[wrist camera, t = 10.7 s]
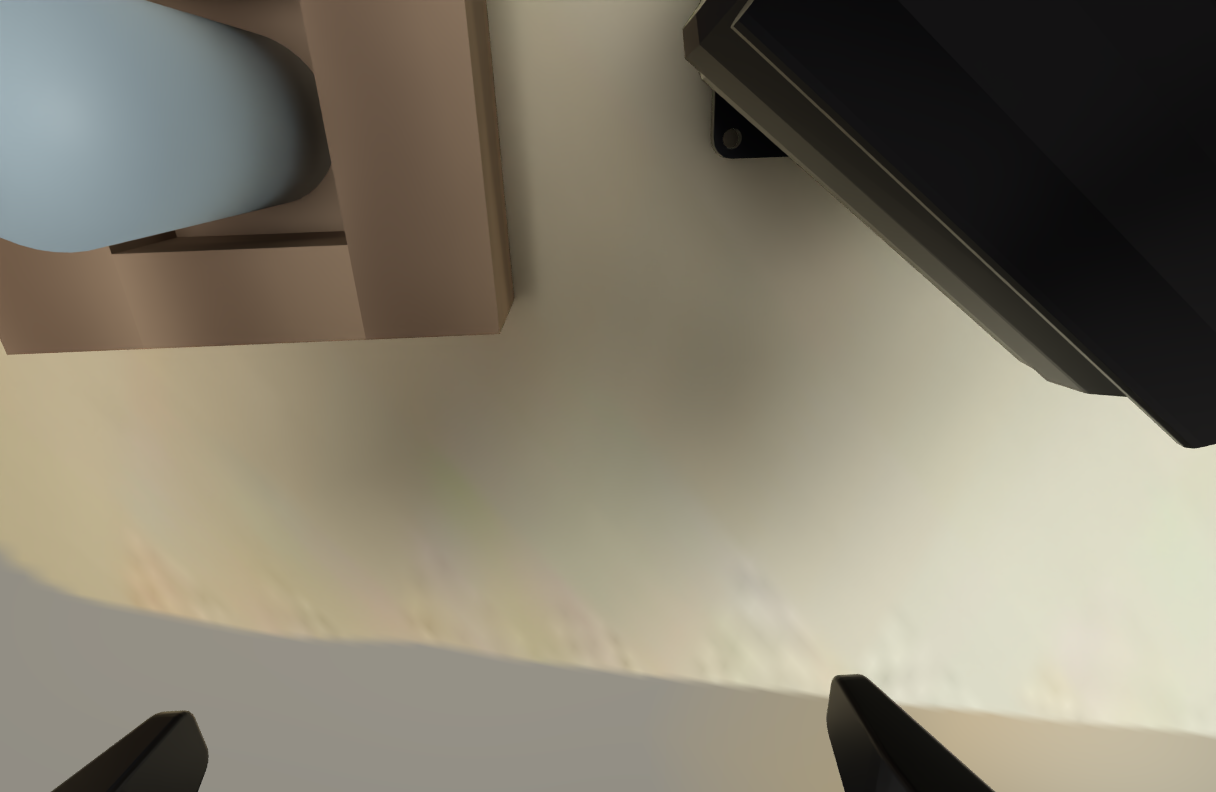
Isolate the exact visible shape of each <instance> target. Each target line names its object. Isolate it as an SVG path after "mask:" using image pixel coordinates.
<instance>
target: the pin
mask: <svg viewBox="0 0 1216 792" xmlns="http://www.w3.org/2000/svg"><path fill="white" fill-rule="evenodd" d="M330 166H331V158H330V153H329V148H328V143H327V138H326V133H325V128H324V123H323V118H322V112H321V107H320V102H319V97H318V92H317V87H316V82H315V77H314V73H313V72H312V71H311V70H310V69H309V67H308V66H307V65H306V64H305V63H304V62H303V61H302V60H301V59H300V58H299V57H298V56H297V55H295V54H294V53H293V52H292V51H290V50H289V49H288V48H286V47H285V46H283V45H281V44H280V43H278V42H276V41H274V40H272V39H270V38H268V37H265V36H262V35H259V34H256V33H253V32H250V31H246V30H243V29H240V28H236V27H233V26H230V25H226V24H223V23H220V22H216V21H213V20H210V19H206V18H203V17H200V16H196V15H193V14H190V13H186V12H183V11H180V10H176V9H173V8H170V7H166V6H163V5H160V4H156V3H153V2H150V1H146V0H0V238H3V239H5V240H8V241H11V242H13V243H16V244H19V245H22V246H26V247H30V248H33V249H37V250H44V251H50V252H68V253H73V252H82V251H90V250H94V249H98V248H102V247H106V246H110V245H115V244H119V243H123V242H127V241H131V240H135V239H140V238H144V237H148V236H152V235H156V234H160V233H165V232H169V231H173V230H177V229H181V228H185V227H190V226H194V225H198V224H202V223H206V222H210V221H215V220H219V219H223V218H227V217H231V216H235V215H240V214H244V213H248V212H252V211H256V210H260V209H265V208H269V207H273V206H277V205H281V204H285V203H289V202H293V201H295V200H298V199H300V198H302V197H304V196H305V195H307V194H309V193H310V192H311V191H312V190H314V189H315V188H316V187H317V186H318V185H319V184H320V182H321V181H322V180H323V179H324V177H325V175H326V174H327V172H328V170H329V168H330Z"/></svg>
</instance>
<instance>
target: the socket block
mask: <svg viewBox="0 0 1216 792" xmlns="http://www.w3.org/2000/svg"><path fill="white" fill-rule="evenodd" d="M146 1H150V2H153V3H156V4H160V5H163V6H166V7H170V8H173V9H176V10H180V11H183V12H186V13H190V14H193V15H196V16H200V17H203V18H206V19H210V20H213V21H216V22H220V23H223V24H226V25H230V26H233V27H236V28H240V29H243V30H246V31H250V32H253V33H256V34H259V35H262V36H265V37H268V38H270V39H272V40H274V41H276V42H278V43H280V44H281V45H283V46H285V47H286V48H288V49H289V50H290V51H292V52H293V53H294V54H295V55H297V56H298V57H299V58H300V59H301V60H302V61H303V62H304V63H305V64H306V65H307V66H308V67H309V69H310V70H311V71H312V72H313V73H314V77H315V82H316V87H317V92H318V97H319V102H320V107H321V112H322V118H323V123H324V128H325V133H326V138H327V143H328V148H329V153H330V158H331V166H330V168H329V170H328V172H327V174H326V175H325V177H324V179H323V180H322V181H321V182H320V184H319V185H318V186H317V187H316V188H315V189H314V190H312V191H311V192H310V193H309V194H307V195H305V196H304V197H302V198H300V199H298V200H295V201H293V202H289V203H285V204H281V205H277V206H273V207H269V208H265V209H260V210H256V211H252V212H248V213H244V214H240V215H235V216H231V217H227V218H223V219H219V220H215V221H210V222H206V223H202V224H198V225H194V226H190V227H185V228H181V229H177V230H173V231H169V232H165V233H160V234H156V235H152V236H148V237H144V238H140V239H135V240H131V241H127V242H123V243H119V244H115V245H110V246H106V247H102V248H98V249H94V250H90V251H82V252H73V253H68V252H50V251H44V250H37V249H33V248H30V247H26V246H22V245H19V244H16V243H13V242H11V241H8V240H5V239H3V238H0V339H1V342H2V344H3V346H4V349H5V351H6V353H7V355H11V354H35V353H58V352H82V351H106V350H130V349H153V348H177V347H201V346H225V345H248V344H272V343H296V342H320V341H343V340H367V339H391V338H415V337H438V336H462V335H486V334H500V332H501V330H502V327H503V325H504V322H505V320H506V318H507V315H508V313H509V310H510V308H511V306H512V303H513V301H514V291H513V280H512V270H511V259H510V249H509V238H508V227H507V217H506V206H505V195H504V185H503V174H502V163H501V153H500V142H499V132H498V121H497V110H496V100H495V89H494V78H493V68H492V57H491V47H490V36H489V25H488V15H487V4H486V0H146Z"/></svg>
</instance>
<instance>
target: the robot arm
mask: <svg viewBox="0 0 1216 792" xmlns="http://www.w3.org/2000/svg"><path fill="white" fill-rule="evenodd" d="M683 42H684V55H685V59H686V60H687V61H688V62H690V63H691V64H692V65H693V66H694V67H695V68H696V69H697V70H698V71H699V74H700V75H701V79H702V80H703V81H704V82H706V83H707V84H708V85H709V86H710V87H711V88H712V112H711V144H712V148H713V149H714V151H715V153H717V154H718V155H719V156H721V157H725V158H731V159H735V158H763V157H790V158H791V159H792V160H793V161H795V162H796V163H797V164H798V165H799V166H800V167H801V168H802V169H804V170H805V171H806V172H807V173H808V174H809V175H810V176H811V177H813V178H814V179H815V180H816V181H817V182H818V183H819V184H821V185H822V186H823V187H824V188H825V189H826V190H827V191H828V192H830V193H831V194H832V195H833V196H834V197H835V198H836V199H837V200H839V201H840V202H841V203H842V204H843V205H844V206H845V207H846V208H848V209H849V210H850V211H851V212H852V213H853V214H854V215H855V216H857V217H858V218H859V219H860V220H861V221H862V222H863V223H864V224H866V225H867V226H868V227H869V228H870V229H871V230H872V231H873V232H875V233H876V234H877V235H878V236H879V237H880V238H881V239H883V240H884V241H885V242H886V243H887V244H888V245H889V246H890V247H892V248H893V249H894V250H895V251H896V252H897V253H898V254H899V255H901V256H902V257H903V258H904V259H905V260H906V261H907V262H908V263H910V264H911V265H912V266H913V267H914V268H915V269H916V270H917V271H919V272H920V273H921V274H922V275H923V276H924V277H925V278H926V279H928V280H929V281H930V282H931V283H932V284H933V285H934V286H935V287H937V288H938V289H939V290H940V291H941V292H942V293H943V294H945V295H946V296H947V297H948V298H949V299H950V300H951V301H952V302H954V303H955V304H956V305H957V306H958V307H959V308H960V309H961V310H963V311H964V312H965V313H966V314H967V315H968V316H969V317H970V318H972V319H973V320H974V321H975V322H976V323H977V324H978V325H979V326H981V327H982V328H983V329H984V330H985V331H986V332H987V333H988V334H990V335H991V336H992V337H993V338H994V339H995V340H996V341H997V342H999V343H1000V344H1001V345H1002V346H1003V347H1004V348H1005V349H1007V350H1008V351H1009V352H1010V353H1011V354H1012V355H1013V356H1014V357H1016V358H1017V359H1018V360H1019V361H1020V362H1022V363H1024V364H1026V365H1028V366H1029V367H1031V368H1033V369H1034V370H1035V371H1037V372H1038V373H1039V374H1040V375H1041V376H1042V377H1043V378H1044V379H1046V380H1047V381H1049V382H1052V383H1055V384H1058V385H1062V386H1065V387H1068V388H1071V389H1074V390H1077V391H1080V392H1083V393H1087V394H1098V395H1110V396H1123V397H1128V398H1129V399H1130V400H1131V401H1132V402H1133V403H1135V404H1136V405H1137V406H1138V407H1139V408H1140V409H1141V410H1142V411H1143V412H1144V413H1145V414H1146V415H1147V416H1148V417H1150V418H1151V419H1152V420H1153V421H1154V422H1155V423H1156V424H1157V425H1158V426H1159V427H1160V428H1161V429H1162V430H1164V431H1165V432H1166V433H1167V434H1168V435H1169V436H1170V437H1171V438H1172V439H1173V440H1174V441H1175V442H1176V443H1178V444H1179V445H1181V446H1183V447H1186V448H1200V447H1205V446H1209V445H1213V444H1216V0H700V4H699V6H698V7H697V9H696V10H695V11H694V13H693V14H692V16H691V17H690V19H689V20H688V22H687V23H686V25H685V26H684V28H683ZM728 129H734V130H735V131H736V132H737V133H738V141H737V144H736V145H735V146H734V147H732V148H727V147H726V146H725V145H724V144H723V135H724V133H725V132H726V131H727V130H728ZM826 720H827V728H828V734H829V738H830V741H831V745H832V748H833V752H834V755H835V758H836V762H837V766H838V769H839V773H840V776H841V780H842V783H843V787H844V791H845V792H995V791H994V790H993V789H991V788H990V787H989V786H988V785H987V784H986V783H985V782H983V781H982V780H981V779H980V778H979V777H978V776H977V775H976V774H975V773H973V772H972V771H971V770H970V769H969V768H968V767H967V766H966V765H965V764H963V763H962V762H961V761H960V760H959V759H958V758H957V757H956V756H954V755H953V754H952V753H951V752H950V751H949V750H948V749H946V748H945V747H944V746H943V745H942V744H941V743H940V742H939V741H937V740H936V739H935V738H934V737H933V736H932V735H931V734H930V733H929V732H928V731H926V730H925V729H924V728H923V727H922V726H921V725H919V723H917V722H916V721H915V720H914V719H913V718H912V717H911V716H910V715H908V714H907V713H906V712H905V711H904V710H903V709H902V708H901V707H899V706H898V705H897V704H896V703H895V702H894V701H893V700H892V699H890V698H889V697H888V696H887V695H886V694H885V693H884V692H883V691H882V690H880V689H879V688H878V687H877V686H876V685H875V684H874V683H873V682H871V681H870V680H869V679H868V678H867V677H865V676H863V675H860V674H850V675H837V676H835V677H834V678H833V680H832V683H831V689H830V695H829V703H828V709H827V717H826ZM207 764H208V748H207V746H206V744H205V741H204V738H203V736H202V734H201V731H200V729H199V727H198V724H197V722H196V719H195V717H194V716H193V714H191V713H190V712H189V711H167V712H160V713H157V714H155V715H153V716H152V717H150V718H149V719H147V720H146V721H145V722H143V723H142V724H141V725H139V726H138V727H137V728H135V729H134V730H133V731H131V732H130V733H129V734H127V735H126V736H125V737H123V738H122V739H121V740H119V741H118V742H117V743H115V744H114V745H113V746H111V747H110V748H109V749H107V750H106V751H105V752H103V753H102V754H101V755H99V756H98V757H97V758H95V759H94V760H93V761H91V762H90V763H89V764H87V765H86V766H85V767H83V768H82V769H81V770H79V771H78V772H77V773H75V774H74V775H73V776H71V777H70V778H69V779H67V780H66V781H65V782H63V783H62V784H61V785H60V786H58V787H57V788H55V789H54V790H53V791H52V792H198V790H199V787H200V785H201V782H202V779H203V777H204V774H205V772H206V768H207Z"/></svg>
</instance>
